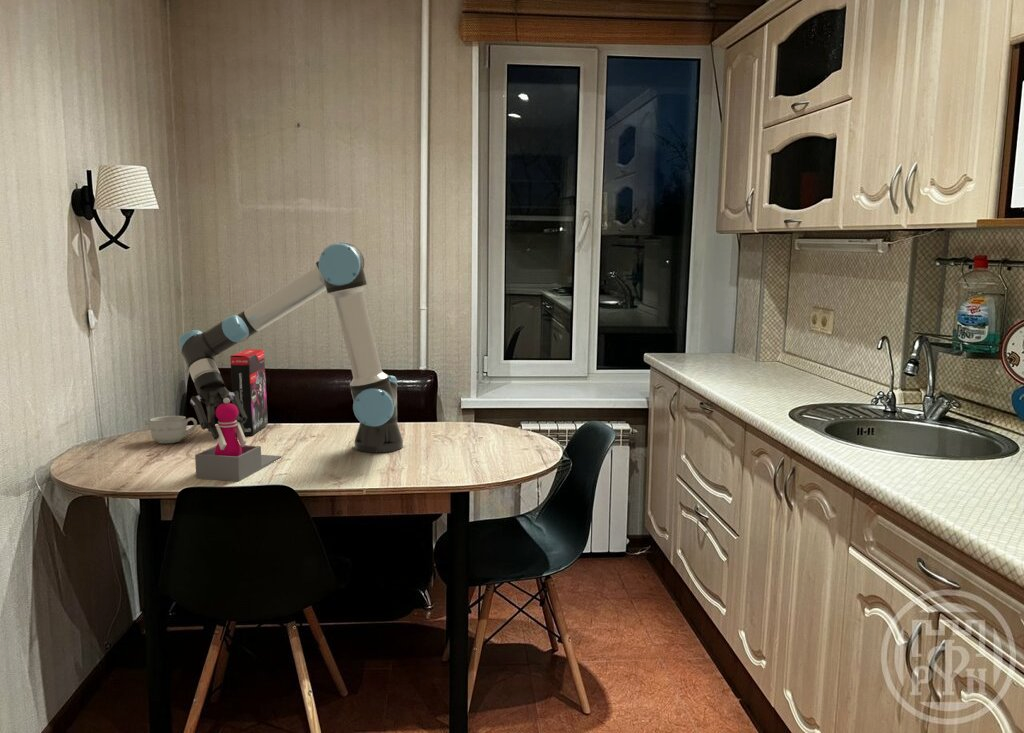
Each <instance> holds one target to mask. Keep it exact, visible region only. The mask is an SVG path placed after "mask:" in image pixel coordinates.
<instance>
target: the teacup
mask: <svg viewBox="0 0 1024 733" xmlns="http://www.w3.org/2000/svg"><path fill="white" fill-rule="evenodd" d="M190 421H192V422H193V426H192V427H191V428H189V429H187V426H188V423H189V422H190ZM149 423H150V425H149V426H150V434H151V438H152V440H154V441H156V442H157V443H158V444H175V443H179V442H181V441H182V440H183V439H184V438H185V437H187V436H188V435H189V434H190V433H191V432H193V431H194V430H195V429H196V428H197V426H198V422H197V420H196V419H195V418H194V417H188V418H187V417H186V416H185V415H165V416H157V417H153V418H152V417H151V418H150V419H149Z"/></svg>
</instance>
